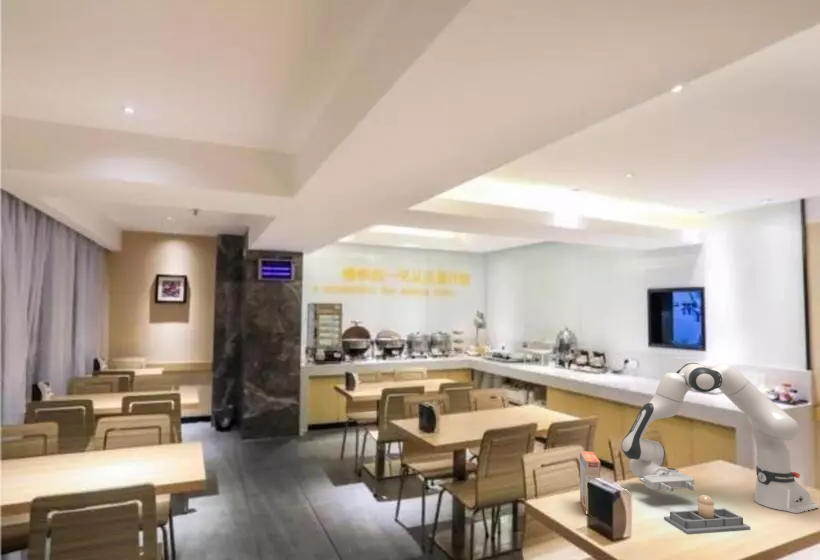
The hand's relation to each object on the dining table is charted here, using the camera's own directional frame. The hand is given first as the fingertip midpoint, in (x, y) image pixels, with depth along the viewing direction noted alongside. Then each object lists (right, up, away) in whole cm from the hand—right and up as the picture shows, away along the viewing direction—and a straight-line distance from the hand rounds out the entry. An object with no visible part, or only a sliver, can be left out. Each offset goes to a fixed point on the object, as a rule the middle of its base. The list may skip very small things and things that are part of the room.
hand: (682, 489), depth 190 cm
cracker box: (-37, -8, 0) cm, 38 cm away
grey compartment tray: (+2, -8, -13) cm, 15 cm away
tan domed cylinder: (+2, -7, -12) cm, 14 cm away
